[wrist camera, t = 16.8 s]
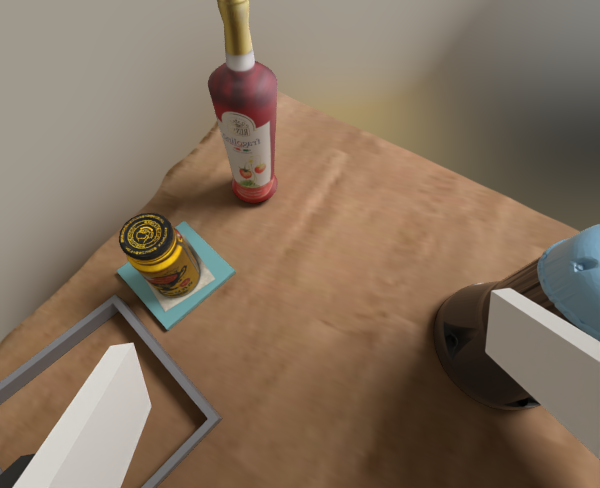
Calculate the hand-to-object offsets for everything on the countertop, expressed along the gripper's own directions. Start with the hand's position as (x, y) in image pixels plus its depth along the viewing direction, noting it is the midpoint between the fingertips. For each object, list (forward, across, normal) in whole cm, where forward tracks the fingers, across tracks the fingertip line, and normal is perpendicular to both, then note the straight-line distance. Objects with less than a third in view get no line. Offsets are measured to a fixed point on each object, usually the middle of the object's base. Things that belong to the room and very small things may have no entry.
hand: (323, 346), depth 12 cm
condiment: (+33, -14, -9) cm, 37 cm away
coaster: (+34, -14, -9) cm, 38 cm away
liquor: (+43, -2, 0) cm, 43 cm away
